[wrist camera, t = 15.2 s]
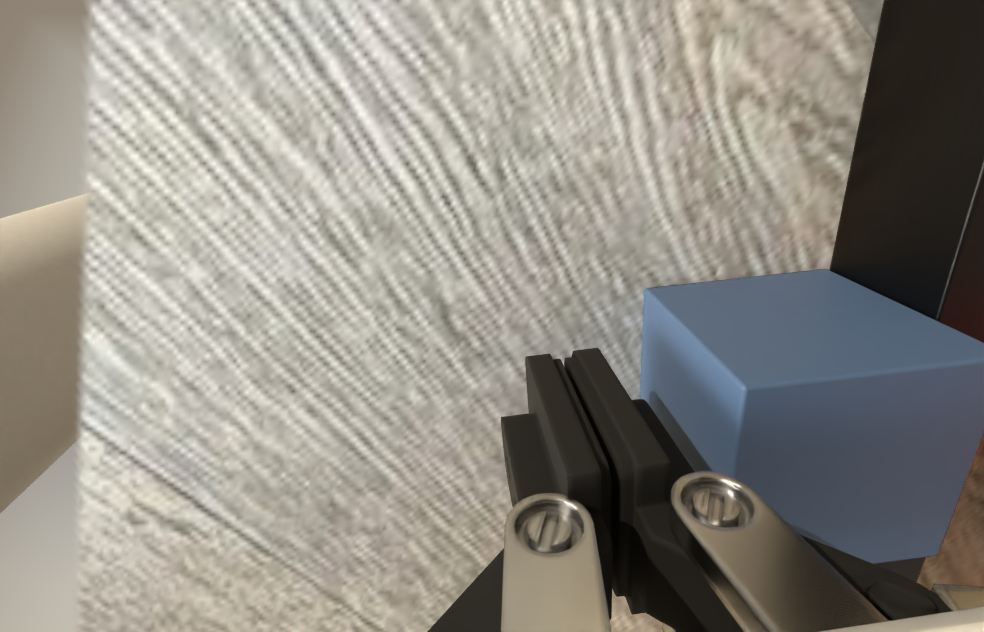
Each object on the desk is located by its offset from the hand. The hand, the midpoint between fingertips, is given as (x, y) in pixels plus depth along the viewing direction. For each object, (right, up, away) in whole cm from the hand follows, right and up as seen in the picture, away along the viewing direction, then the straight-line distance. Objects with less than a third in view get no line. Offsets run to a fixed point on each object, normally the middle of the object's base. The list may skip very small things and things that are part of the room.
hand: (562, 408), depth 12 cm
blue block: (+4, +1, +1) cm, 5 cm away
